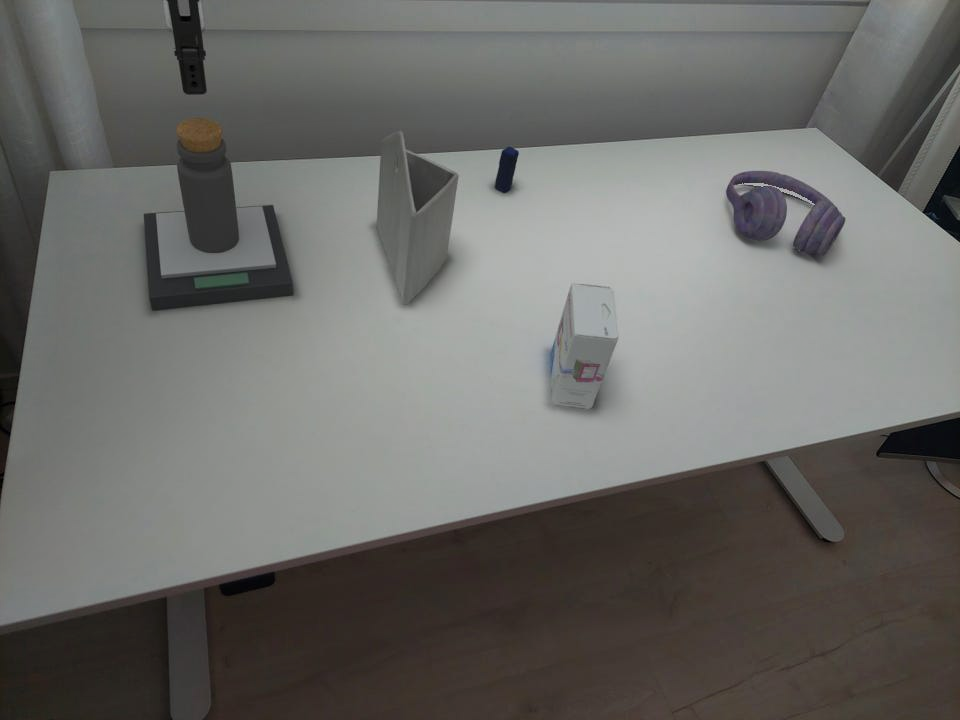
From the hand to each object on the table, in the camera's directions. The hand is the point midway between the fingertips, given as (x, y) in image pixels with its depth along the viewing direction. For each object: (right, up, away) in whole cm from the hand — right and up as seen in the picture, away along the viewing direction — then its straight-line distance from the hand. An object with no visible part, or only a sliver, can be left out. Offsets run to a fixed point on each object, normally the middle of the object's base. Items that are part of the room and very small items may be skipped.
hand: (191, 72), depth 74 cm
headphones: (+78, -7, +44) cm, 89 cm away
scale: (-3, -17, +17) cm, 24 cm away
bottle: (-3, -15, +15) cm, 22 cm away
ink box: (+40, -32, +12) cm, 53 cm away
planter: (+21, -17, +23) cm, 35 cm away
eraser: (+33, -3, +38) cm, 50 cm away
